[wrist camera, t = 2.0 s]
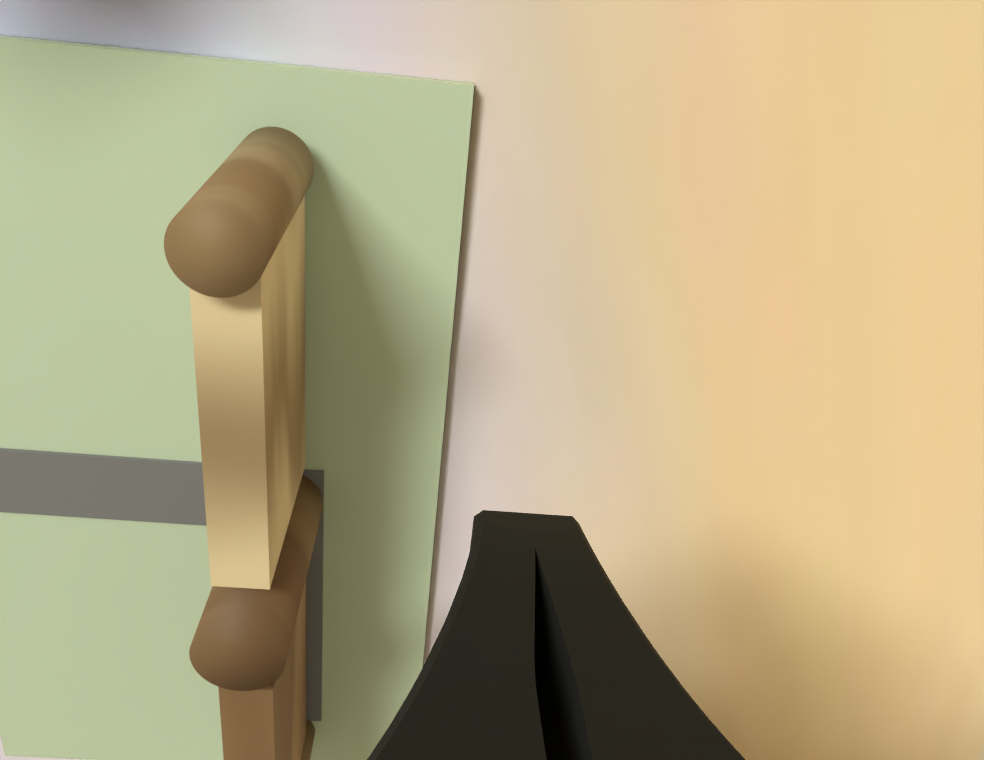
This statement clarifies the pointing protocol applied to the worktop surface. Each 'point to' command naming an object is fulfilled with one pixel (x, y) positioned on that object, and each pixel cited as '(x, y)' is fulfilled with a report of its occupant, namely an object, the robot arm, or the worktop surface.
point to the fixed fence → (263, 649)
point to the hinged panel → (248, 346)
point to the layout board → (173, 393)
